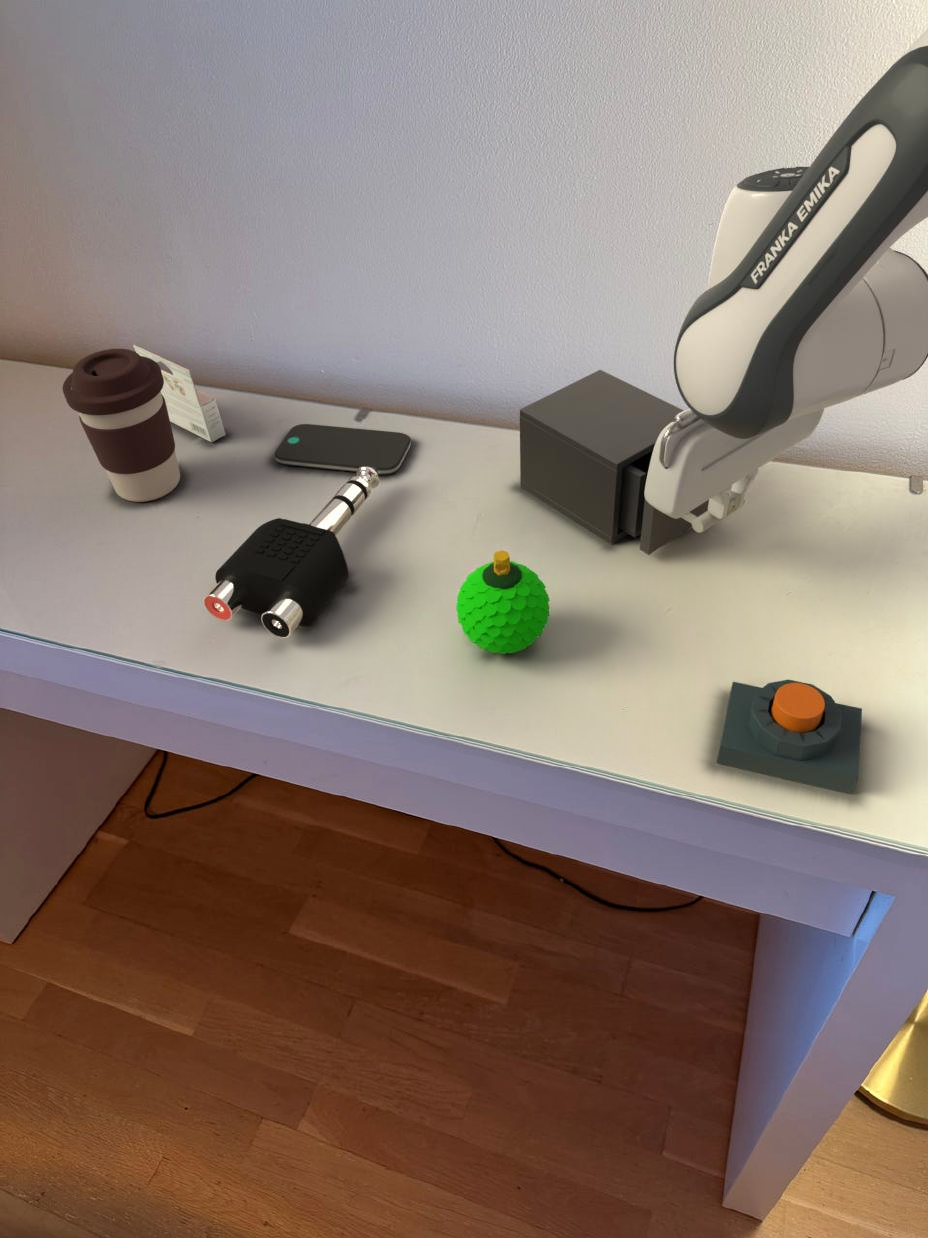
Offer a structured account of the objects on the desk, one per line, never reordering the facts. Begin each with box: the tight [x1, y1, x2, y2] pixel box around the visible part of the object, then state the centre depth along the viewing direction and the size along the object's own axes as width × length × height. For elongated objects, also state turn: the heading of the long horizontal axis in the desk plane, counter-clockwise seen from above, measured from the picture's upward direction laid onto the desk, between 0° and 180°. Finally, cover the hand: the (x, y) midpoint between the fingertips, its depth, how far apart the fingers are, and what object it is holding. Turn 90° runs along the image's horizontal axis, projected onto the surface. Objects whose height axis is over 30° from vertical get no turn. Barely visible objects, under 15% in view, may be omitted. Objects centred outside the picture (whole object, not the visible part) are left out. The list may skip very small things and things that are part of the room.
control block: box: [716, 679, 863, 795], centre depth 72 cm, size 10×7×4 cm
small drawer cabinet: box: [519, 369, 685, 545], centre depth 96 cm, size 14×12×10 cm
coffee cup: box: [61, 348, 181, 503], centre depth 100 cm, size 10×10×15 cm
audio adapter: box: [203, 466, 380, 639], centre depth 92 cm, size 11×5×25 cm
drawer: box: [618, 451, 746, 556], centre depth 92 cm, size 17×10×8 cm, turn 40°
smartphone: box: [274, 423, 412, 475], centre depth 107 cm, size 8×1×15 cm
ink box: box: [132, 344, 226, 443], centre depth 110 cm, size 2×11×10 cm, turn 50°
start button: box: [771, 683, 825, 733], centre depth 71 cm, size 4×4×2 cm
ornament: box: [455, 549, 551, 655], centre depth 80 cm, size 8×8×10 cm
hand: (724, 510), depth 86 cm, fingers closed, pressing on drawer
